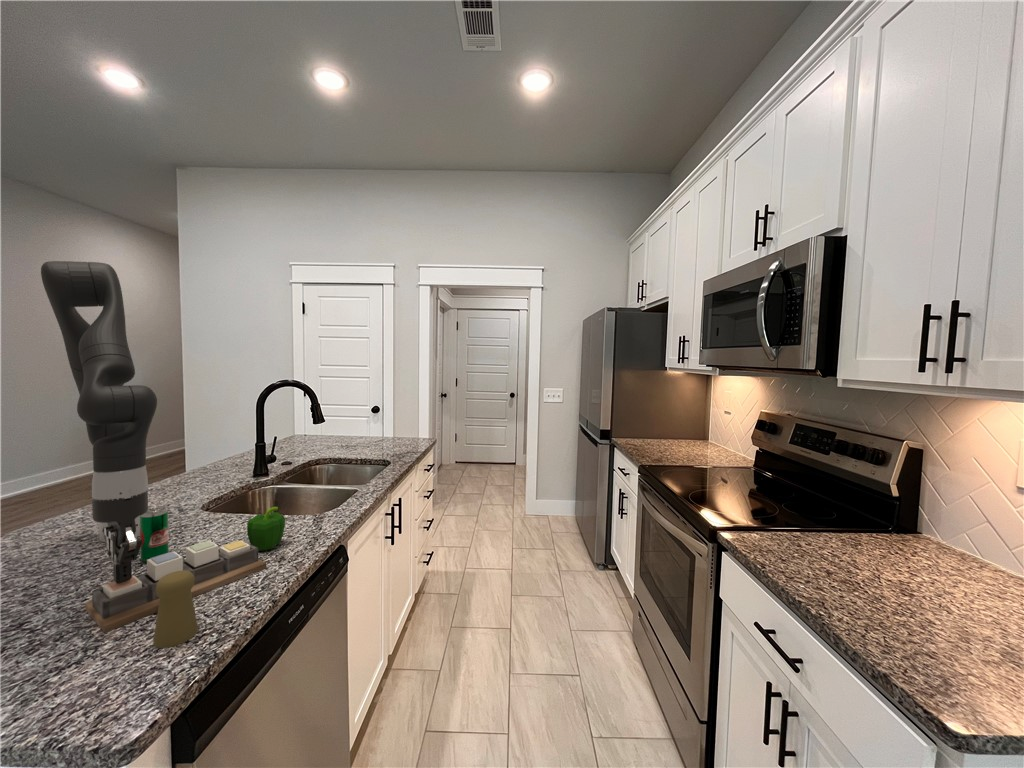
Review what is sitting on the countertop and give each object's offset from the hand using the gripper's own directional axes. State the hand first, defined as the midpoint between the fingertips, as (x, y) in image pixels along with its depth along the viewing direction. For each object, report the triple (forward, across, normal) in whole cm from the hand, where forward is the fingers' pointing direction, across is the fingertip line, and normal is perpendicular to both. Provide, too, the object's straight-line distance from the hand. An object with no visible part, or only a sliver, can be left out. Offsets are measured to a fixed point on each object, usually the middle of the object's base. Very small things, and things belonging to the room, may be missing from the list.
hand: (122, 580), depth 76 cm
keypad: (+6, 0, +10) cm, 11 cm away
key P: (+4, 0, +19) cm, 20 cm away
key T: (+1, 0, +6) cm, 7 cm away
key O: (+4, 0, 0) cm, 4 cm away
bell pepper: (+6, -5, +29) cm, 30 cm away
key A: (+1, 0, +13) cm, 13 cm away
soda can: (+6, -20, +11) cm, 23 cm away
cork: (+6, +17, +2) cm, 18 cm away
